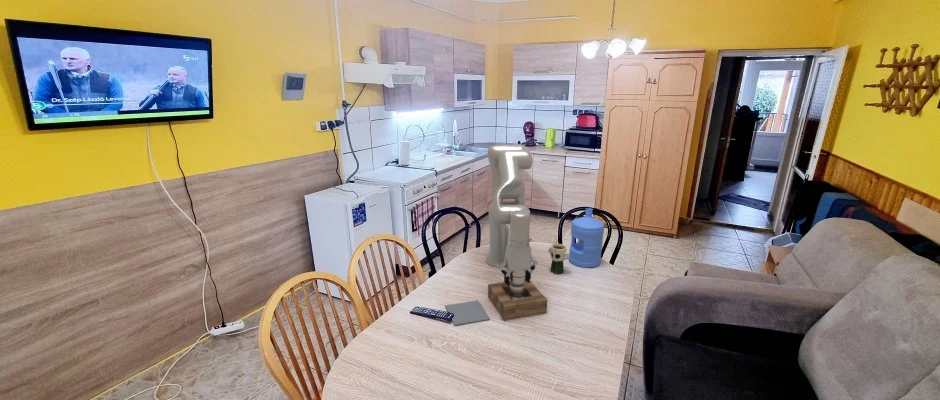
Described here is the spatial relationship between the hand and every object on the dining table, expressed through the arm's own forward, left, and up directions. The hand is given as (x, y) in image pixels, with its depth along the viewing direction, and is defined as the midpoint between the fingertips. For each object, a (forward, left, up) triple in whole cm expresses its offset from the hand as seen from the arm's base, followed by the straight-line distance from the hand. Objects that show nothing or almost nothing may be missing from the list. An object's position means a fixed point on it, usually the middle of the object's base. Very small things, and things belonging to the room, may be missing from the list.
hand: (517, 282), depth 159 cm
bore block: (0, 0, -10) cm, 10 cm away
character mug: (-22, +31, -10) cm, 39 cm away
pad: (0, -21, -10) cm, 23 cm away
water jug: (-28, +50, -10) cm, 58 cm away
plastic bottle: (0, 0, -10) cm, 10 cm away
